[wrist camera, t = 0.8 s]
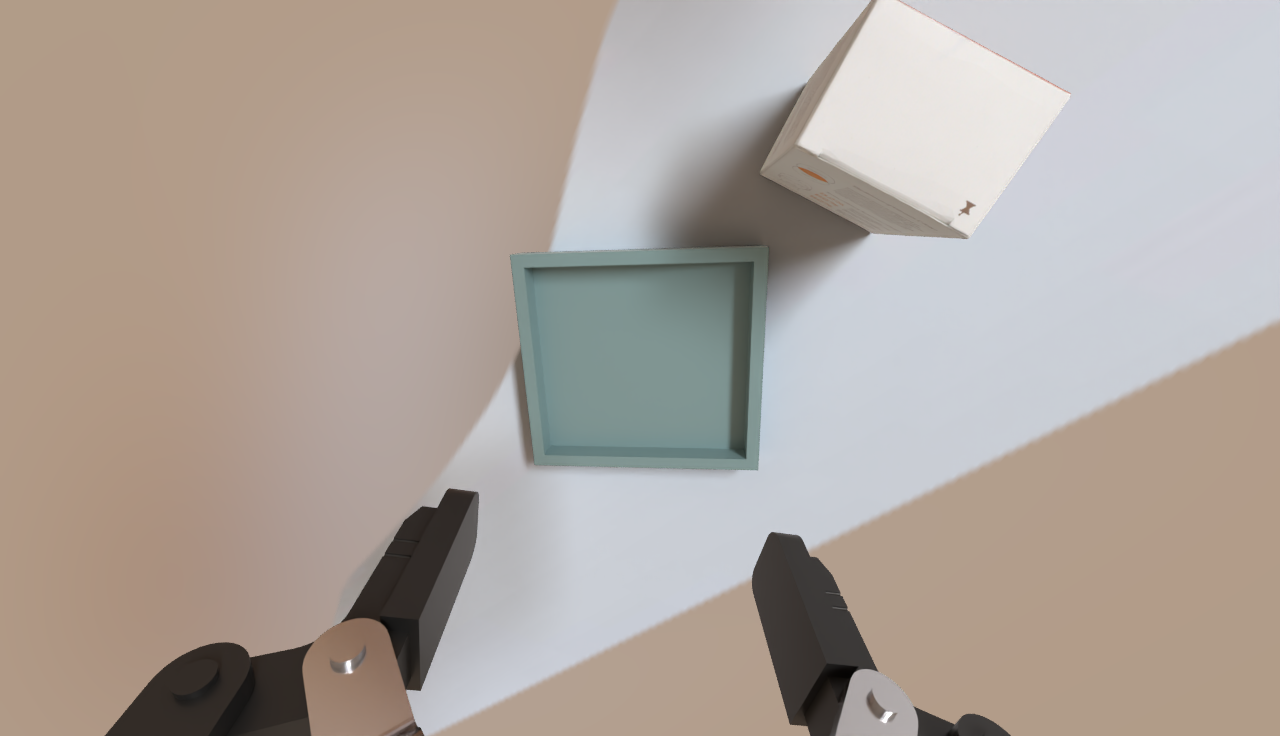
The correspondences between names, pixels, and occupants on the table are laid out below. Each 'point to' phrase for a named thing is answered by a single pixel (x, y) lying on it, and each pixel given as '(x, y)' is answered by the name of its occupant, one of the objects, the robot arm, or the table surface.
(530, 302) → the tray
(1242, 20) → the table surface
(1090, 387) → the table surface
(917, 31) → the small box
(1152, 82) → the table surface
